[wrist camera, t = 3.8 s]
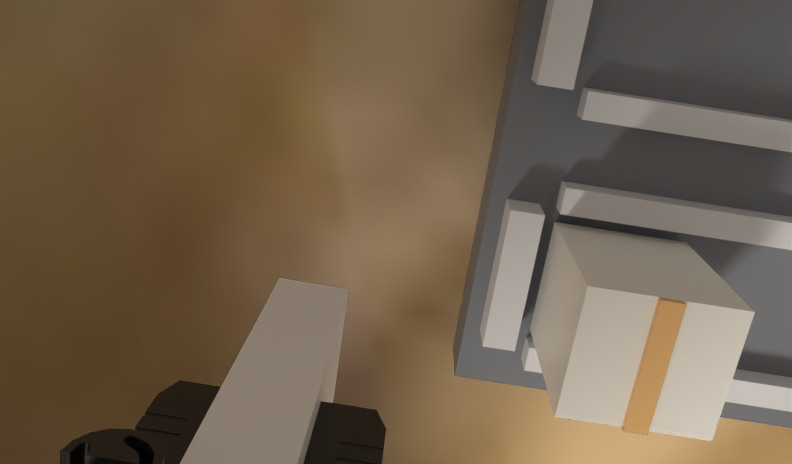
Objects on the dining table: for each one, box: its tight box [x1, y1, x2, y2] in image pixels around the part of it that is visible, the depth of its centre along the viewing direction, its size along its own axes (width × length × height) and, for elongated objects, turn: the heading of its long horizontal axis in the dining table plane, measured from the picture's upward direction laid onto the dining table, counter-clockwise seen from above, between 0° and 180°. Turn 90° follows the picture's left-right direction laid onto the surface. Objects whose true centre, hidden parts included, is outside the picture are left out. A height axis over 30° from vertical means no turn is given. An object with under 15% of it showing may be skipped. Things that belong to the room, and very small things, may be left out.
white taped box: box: [530, 222, 755, 441], centre depth 20 cm, size 4×4×5 cm
